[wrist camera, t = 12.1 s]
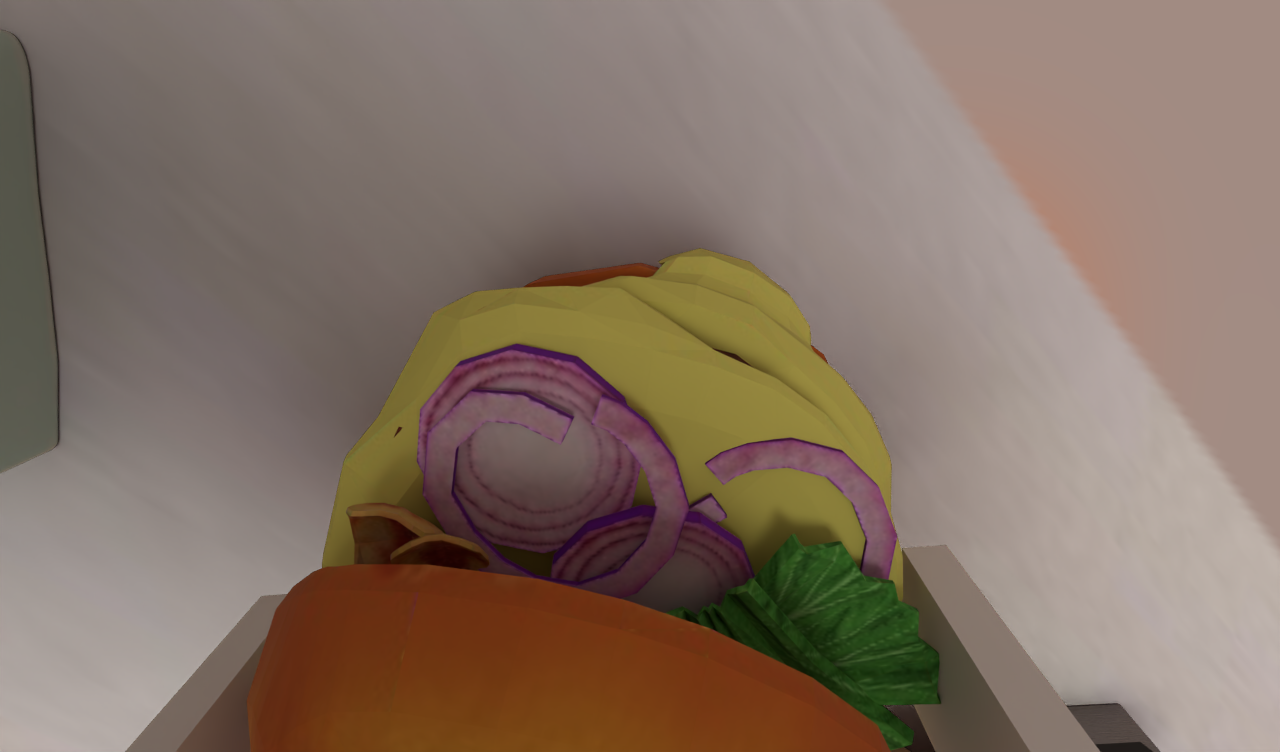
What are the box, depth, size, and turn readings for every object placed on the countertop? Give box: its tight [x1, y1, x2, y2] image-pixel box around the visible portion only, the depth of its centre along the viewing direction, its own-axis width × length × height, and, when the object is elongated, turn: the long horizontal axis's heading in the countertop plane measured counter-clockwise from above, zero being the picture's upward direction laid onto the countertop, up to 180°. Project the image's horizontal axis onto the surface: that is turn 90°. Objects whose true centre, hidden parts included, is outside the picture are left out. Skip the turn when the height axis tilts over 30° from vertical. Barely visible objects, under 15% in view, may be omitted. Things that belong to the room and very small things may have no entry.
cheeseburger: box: [247, 248, 941, 752], centre depth 10 cm, size 10×11×10 cm
